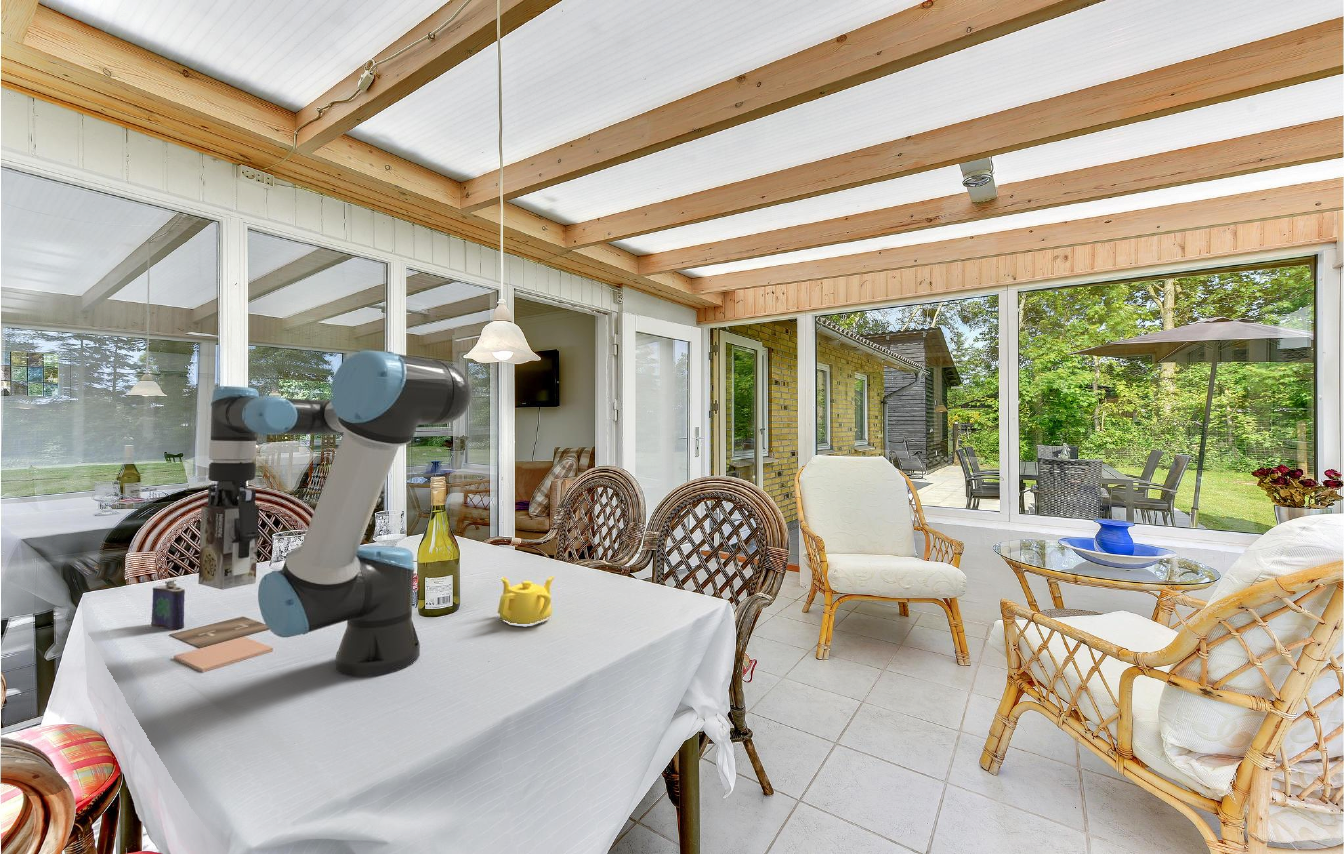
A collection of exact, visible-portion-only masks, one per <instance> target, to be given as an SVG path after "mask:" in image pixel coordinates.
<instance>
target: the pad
mask: <svg viewBox="0 0 1344 854" xmlns="http://www.w3.org/2000/svg"><path fill="white" fill-rule="evenodd" d="M270 651H271V652H274V647H272V646H269V645H268V644H264V643H261V642H259V641H257V640H253V639H250V638H249V637H247V636H243V637H239V638H236V639H232V640H228V641H225V642H221V643H217V644H213V645H210V646H206V647H202V648H197V649H194V650H190V651H186V652H183V653H179V654H175V655H173V660H176V659H177V660H176V661H178V660H179V661H178V662H180V661H181V662H180V663H182V662H183V663H182V664H184V663H185V664H184V665H186V664H187V665H186V666H188V665H190V666H191V667H190V666H189V667H190V668H193V667H194V668H193V669H195V670H197V669H198V670H197V671H200V672H201V671H202V672H201V673H204V672H203V671H205V672H207V671H208V672H209V671H211V670H210V669H212V670H215V669H218V668H220V667H225V666H227V665H230V664H231V665H232V664H233V663H237V662H240V661H243V660H247V659H251V658H254V657H258V656H260V655H265V654H267V653H270Z"/></svg>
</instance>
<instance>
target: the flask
mask: <svg viewBox="0 0 1344 854" xmlns="http://www.w3.org/2000/svg"><path fill="white" fill-rule="evenodd" d="M175 582H177V579H173V580H171V579H170V580H168V581H164V584H165V585H157V586H154V587H152V604H151V622H150V625H151V626H152V627H157V628H159V627H163V628H162V629H165V630H170V631H178V630H179V629H180V630H182V629H184V628H185V593H186V592H185V591H186V590H185V588H182V587H181V586H177V583H175Z"/></svg>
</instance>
